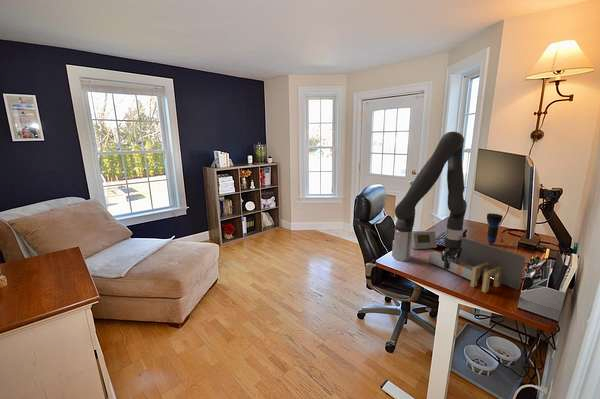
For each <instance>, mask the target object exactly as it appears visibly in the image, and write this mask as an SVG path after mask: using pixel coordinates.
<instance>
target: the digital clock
mask: <svg viewBox="0 0 600 399" xmlns="http://www.w3.org/2000/svg"><path fill="white" fill-rule="evenodd" d="M437 244H438V243H437V233H436V231H435V230H433V229H432V230H416V231H415V230H413V231H412V242H411V246H412V249H414V250H425V249H426V250H427V249H428V250H429V249H436V248H437V247H438V245H437Z"/></svg>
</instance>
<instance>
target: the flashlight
mask: <svg viewBox="0 0 600 399" xmlns="http://www.w3.org/2000/svg"><path fill="white" fill-rule="evenodd" d="M502 221H503V214H498V213H491V212H490V213H487V214H486V222H487V225H488V229H487V242H488V245H490V246H493V244H494V243H496V241H497V237H498V232H499V226H500V225H501V222H502Z"/></svg>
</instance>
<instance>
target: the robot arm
mask: <svg viewBox="0 0 600 399" xmlns="http://www.w3.org/2000/svg"><path fill="white" fill-rule="evenodd" d="M464 138H465V137H464V136H463V134H461V133H460V132H459V131H458V132H457V131H449V132H446V133H445V134H444V135H442V136H441V138H440V140H439V142H438V143H437V146H436V148H435V149H434V152H433V153H432V155H431V156H430V158H429V159H428V160H427V161H426V162H425V164H424V165H423V167H422V168H421V169H420V171H419V172H418V174H417V175H416V177H415V179H414V180H413V182H412V184H411V185H410V187H409V189H408V191H407V193H406V194H405V195H404V197H403V198H402V199H401V201H399V202H398V204H397V205H396V206H395V208H394V215H395V217H396V218H397V220H396V222H395V226H394V239H393V240H392V249H391V256H392V257H393V258H394V260H396V261H401V262H407V261H410V259H411V252H412V232H413V231H414V230H413V229H414V226H415V217H416V207H417V205H418V203H419V202H420V201H421V200H422V199H423V198H424V197H425V196H426V195H427V193H429V192H430V190H431V189H432V188H433V186H434V185H436V184H435V183H436V182H437V181H438V179H440V176H441V174H442V172H443V169H444V167H445V166H446V163H447V172H446V182H447V190H448V191H447V208H448V210H449V215H448V218H447V223H446V229H445V232H444V234H445V235H444V242H443V244H444V245H445V249H444V250H441V251H440V253H441V256H442V261H444V262H445V263H444V268H445V269H444V268H443V269H444V270H447V269H449V264H450V263H449V262H450V260H451V259H452V258H454V259H456V260H457V259H458V258H460V254H461V251H462V247H461V243H462V237H463V235H464V234H463V229H464V220H465V215H466V212H467V206H468V203H467V201H466V199H464V192H465V179H464V170H463V169H464V168H463V150H464V142H465V139H464Z"/></svg>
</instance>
